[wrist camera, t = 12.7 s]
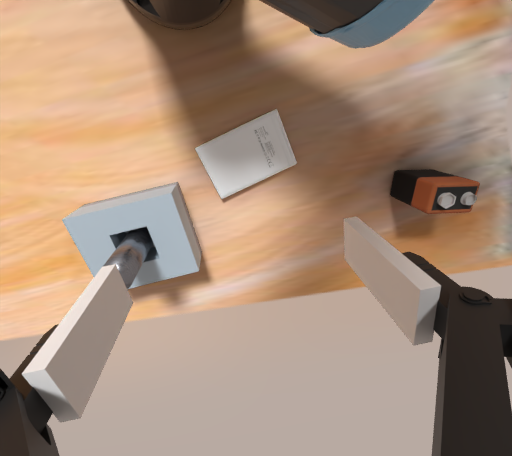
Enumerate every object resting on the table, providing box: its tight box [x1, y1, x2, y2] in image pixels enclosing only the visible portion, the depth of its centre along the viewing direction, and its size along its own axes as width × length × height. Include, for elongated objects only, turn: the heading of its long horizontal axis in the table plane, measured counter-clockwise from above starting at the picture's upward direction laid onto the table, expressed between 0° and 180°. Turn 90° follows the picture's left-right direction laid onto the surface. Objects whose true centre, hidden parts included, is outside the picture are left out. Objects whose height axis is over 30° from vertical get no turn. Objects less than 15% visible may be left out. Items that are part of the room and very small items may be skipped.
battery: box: [390, 170, 480, 214], centre depth 40 cm, size 4×7×10 cm, turn 90°
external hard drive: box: [195, 109, 297, 199], centre depth 39 cm, size 2×8×12 cm
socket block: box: [62, 182, 202, 289], centre depth 39 cm, size 12×14×6 cm
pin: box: [103, 226, 153, 289], centre depth 35 cm, size 4×4×12 cm
